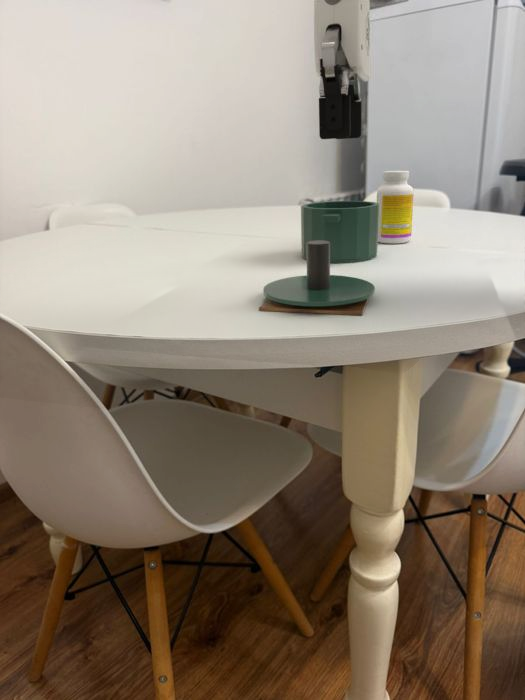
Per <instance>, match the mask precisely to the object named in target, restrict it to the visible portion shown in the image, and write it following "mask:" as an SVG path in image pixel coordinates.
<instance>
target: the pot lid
mask: <svg viewBox="0 0 525 700" xmlns="http://www.w3.org/2000/svg"><path fill="white" fill-rule="evenodd" d="M375 292H376V287H375V285H374V284H373V283H372V282H370V281H368V280H365V279H362V278H359V277H353V276H346V275H336V274H331V263H330V242H329V241H323V240H316V241H309V242H307V260H306V275H298V276H290V277H289V276H288V277H285V278H280V279H277V280H276V279H275V280H273V281H271V282H268V283H267V284H266V285H264V287H263V288H262V294H263V296H264V297H265V298H266V299H270V300H272V301H275V302H279V303H283V304H289V305H297V306H307V307H327V306H337V305H344V304H350V303H355V302H359V301H362V300H365V299H368V298H369V297H370V298H371V297H372V296H374V295H375ZM370 298H369V299H370Z"/></svg>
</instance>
